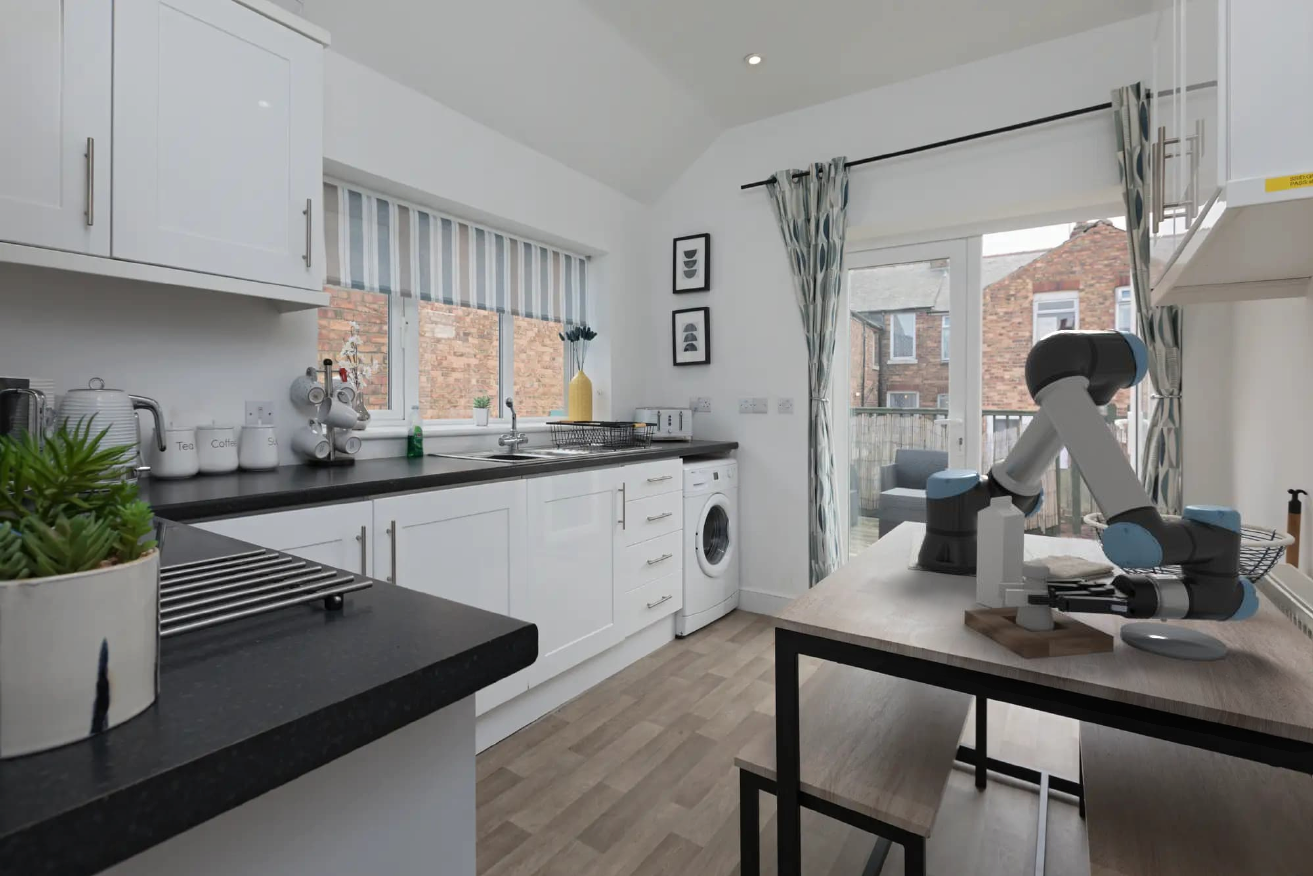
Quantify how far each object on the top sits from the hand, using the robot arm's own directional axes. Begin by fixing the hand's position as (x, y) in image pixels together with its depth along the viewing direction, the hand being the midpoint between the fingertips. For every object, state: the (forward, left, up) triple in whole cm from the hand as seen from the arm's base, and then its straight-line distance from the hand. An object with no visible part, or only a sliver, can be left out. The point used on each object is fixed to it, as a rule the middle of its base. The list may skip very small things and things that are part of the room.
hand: (1002, 594), depth 112 cm
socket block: (+2, +5, -8) cm, 9 cm away
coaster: (+9, +25, -8) cm, 28 cm away
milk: (-14, +10, -8) cm, 19 cm away
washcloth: (-31, +40, -8) cm, 51 cm away
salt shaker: (+2, +5, -8) cm, 9 cm away
